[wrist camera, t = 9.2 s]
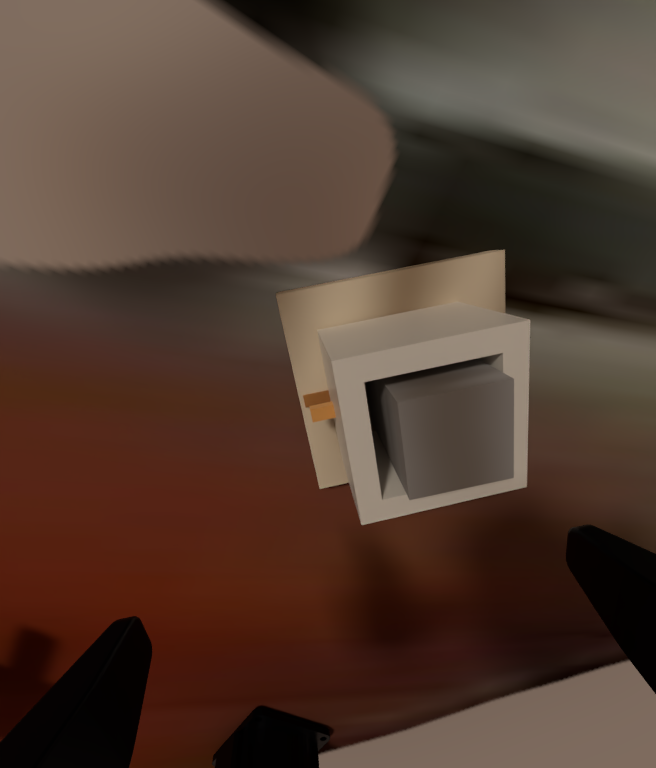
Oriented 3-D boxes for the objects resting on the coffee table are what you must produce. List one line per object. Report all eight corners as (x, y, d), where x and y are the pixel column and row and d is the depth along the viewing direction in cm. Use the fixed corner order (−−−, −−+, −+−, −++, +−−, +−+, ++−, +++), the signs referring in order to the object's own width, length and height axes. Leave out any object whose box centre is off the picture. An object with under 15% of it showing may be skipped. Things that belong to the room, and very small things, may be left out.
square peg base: (492, 250, 16) (627, 246, 10) (495, 440, 20) (597, 531, 13) (276, 292, 16) (266, 317, 9) (318, 477, 20) (332, 590, 13)
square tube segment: (457, 301, 16) (530, 319, 11) (464, 427, 18) (526, 487, 13) (294, 334, 16) (299, 367, 11) (321, 459, 18) (335, 531, 13)
